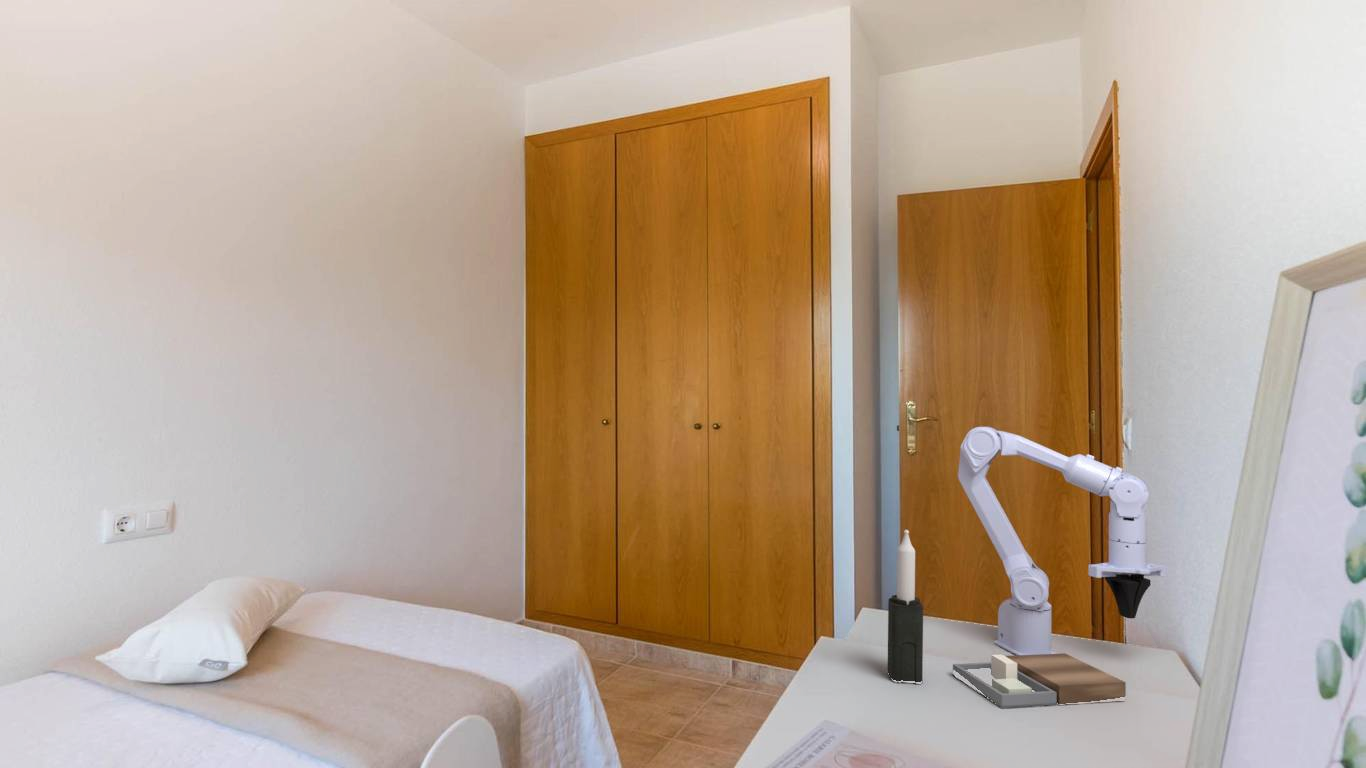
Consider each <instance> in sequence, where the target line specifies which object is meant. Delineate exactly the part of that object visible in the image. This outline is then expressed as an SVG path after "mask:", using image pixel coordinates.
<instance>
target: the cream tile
mask: <svg viewBox="0 0 1366 768" xmlns="http://www.w3.org/2000/svg"><path fill="white" fill-rule="evenodd" d="M1006 656H1007V655H1003V654H991V657H990V658H991V660H990V662H991V675H992V676H993V677H994V678H995V679H1010V678H1015V679H1017V663H1016V662H1014V661H1012V660H1011V659H1009V658H1007V657H1006Z"/></svg>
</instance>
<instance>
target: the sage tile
mask: <svg viewBox="0 0 1366 768" xmlns="http://www.w3.org/2000/svg"><path fill="white" fill-rule="evenodd" d="M992 687H993V688H995V689H996V690H998V691H1000V692H1001V693H1003V694H1005V693H1024V692H1032V688H1030V687H1029V686H1027V685H1025V684H1024V683H1022V682H1020V681H1018V680H1017V679H1015V678H1010V679H992Z"/></svg>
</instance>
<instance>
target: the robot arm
mask: <svg viewBox="0 0 1366 768" xmlns="http://www.w3.org/2000/svg"><path fill="white" fill-rule="evenodd" d="M1000 452H1001V454H1000V455H1001V456H1021V457H1023V458H1026V459H1028V460H1031V461H1034V462H1035V463H1038V464H1041V465H1043V466H1045V467H1048V468H1051V469H1054V470H1056V471H1059V472H1061V473H1062V475H1063V477H1064V480H1065V481H1066V482H1067V483H1069V484H1072V485H1074V486H1077V487H1079V488H1081V489H1083V490H1086V491H1088V492H1090V493H1092V494H1095V495H1096V496H1097V495H1098V496H1099V497H1104V496H1105V497H1107V496H1108V497H1109V498H1110V500H1109V503H1110V505H1109V507H1110V509H1109V510H1110V511H1109V513H1108V562H1102V563H1095V564H1093V563H1092V564H1088V566H1087V567H1088V576H1090V577H1093V578H1096V579H1100V578H1104V579H1105V581H1106V583H1107V585H1108V586H1109V588H1110V590H1111V592H1112V594H1113V596H1114V599H1115V602H1116V605H1117V610H1118V613H1119V616H1121V617H1123V618H1127V619H1136V616H1137V612H1138V610H1139V609H1138V608H1139V606H1140V604H1141V601H1142V599H1143V597H1144V596H1145V593H1146V591H1148V589H1149V588H1150V587H1151V580H1150V579H1148V578H1146V577H1153V576H1154V577H1156V576H1157V577H1166V578H1167V566H1166V565H1163V564H1160V563H1147V517H1146V509H1147V507H1146V503H1147V501H1148V499H1149V497H1150V493H1149V492H1148V488H1147V486H1146V484H1145V483H1144V481H1142V480H1141V479H1140V478H1139V477H1137V476H1134V475H1133V474H1131V473H1130V472H1123V470H1124V469H1123V468H1121V467H1119V466H1116V467H1112V466H1111V465H1108V464H1105V463H1103V462H1100V461H1097V460H1095V456H1094V455H1091V454H1086V455H1083V454H1082V453H1081V454H1080V453H1078V454H1075V455H1072V456H1066V455H1064V454H1062V453H1060V452H1057V451H1055V450H1053V449H1051V448H1048V447H1047V446H1044V445H1042V444H1039V443H1037V442H1035V441H1033V440H1030V439H1028V438H1025V437H1024V436H1021V435H1019V434H1015V433H1011V432H1009V431H1003V430H997V429H995V428H994V427H991V426H977V427H974V428H972V429H970V430H969V431H968V432H967V433H966V435H965V437H964V439H963V441H962V443H961V445H960V455H959V464H958V471H957V479H958V480H959V483H960V485H961V487H962V488H963V490H964V492H965V494H966V496H967V498H968V500H969V502H970V503H971V504H972V505H971V506H972V507H973V509H974V511H975V513H976V514H977V517H978V518H979V520H980V522H981V524H982V526H983V528H984V529H985V531H986V533H987V535H988V537H989V538H990V539H989V540H990V541H991V543H992V544H993V546H994V549H995V550H996V552H997V555H998V556H999V558H1000V560H1001V561H1002V563H1003V567H1004V569H1005V573H1006V575H1007V578H1008V579H1009V583H1010V593H1011V597H1009V598H1008V599H1006V600H1004V601H1003V602H1001V603H1000V605H999V608H998V611H997V612H998V613H997V640H994V641H993V644H995V645H997V646H999V647H1001V648H1003V649H1004V650H1006V651H1008V652H1011V653H1012V654H1013V655H1038V654H1059V653H1058V652H1056V651H1053V650H1052V604H1051V603H1050V602H1048V599H1049V592H1050V591H1049V588H1050V580H1049V577H1048V576H1047V574H1046V573H1045V572H1044V571H1043V570H1042V569H1040V567H1038V566H1037V565H1036V564H1035V563H1034V560H1033V559H1032V557H1031V556H1030V555H1029V553H1028V552H1027V551H1026V550H1025V548H1024V545H1023V544H1022V542H1021V539H1020V538H1019V536H1018V535H1017V532H1016V531H1015V528H1014V527H1013V525H1012V524H1011V521H1010V520H1009V517H1008V516H1007V515H1006V514H1007V513H1005V510H1004V508H1003V507H1002V504H1001V503H1000V501H999V500H998V498H997V496H996V494H995V492H994V490H993V488H992V487H991V485H990V483H989V481H988V479H987V478H986V477H987V475H988V471H989V469H990V467H991V463H992V461H993V460H994V459H995V458H996V457H997V455H998V454H999V453H1000Z"/></svg>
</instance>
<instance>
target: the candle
mask: <svg viewBox="0 0 1366 768" xmlns="http://www.w3.org/2000/svg"><path fill="white" fill-rule="evenodd" d="M903 534H904V535H903V537H902V540H901V544H900V545H898V547H897V549H896V550H897V551H896V553H897V554H896V555H897V556H896V594H893V595H891V597H890V598H888V599H887V600H888V601H887V602H888V603H887V604H888V605H887V606H888V607H887V608H888V610H887V611H888V614H887V618H888V619H887V671H888V673H889V675H890V677H891V678H892V679H893V680H896V681H901V680H903V681H915V682H921V681H922V682H923V671H924V670H923V668H924V667H923V665H924V664H923V659H924V655H923V653H924V652H923V650H924V649H923V647H924V645H923V644H924V605H923V604H922V603H921V599H920V598H919V597H917V596H916V595H915V594H916V550H915V548H914V547H913V545H912V542H911V539H910V535H909V534H910V531H909V530H908V529H904V531H903ZM888 673H887V674H888ZM890 677H889V678H890Z"/></svg>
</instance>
